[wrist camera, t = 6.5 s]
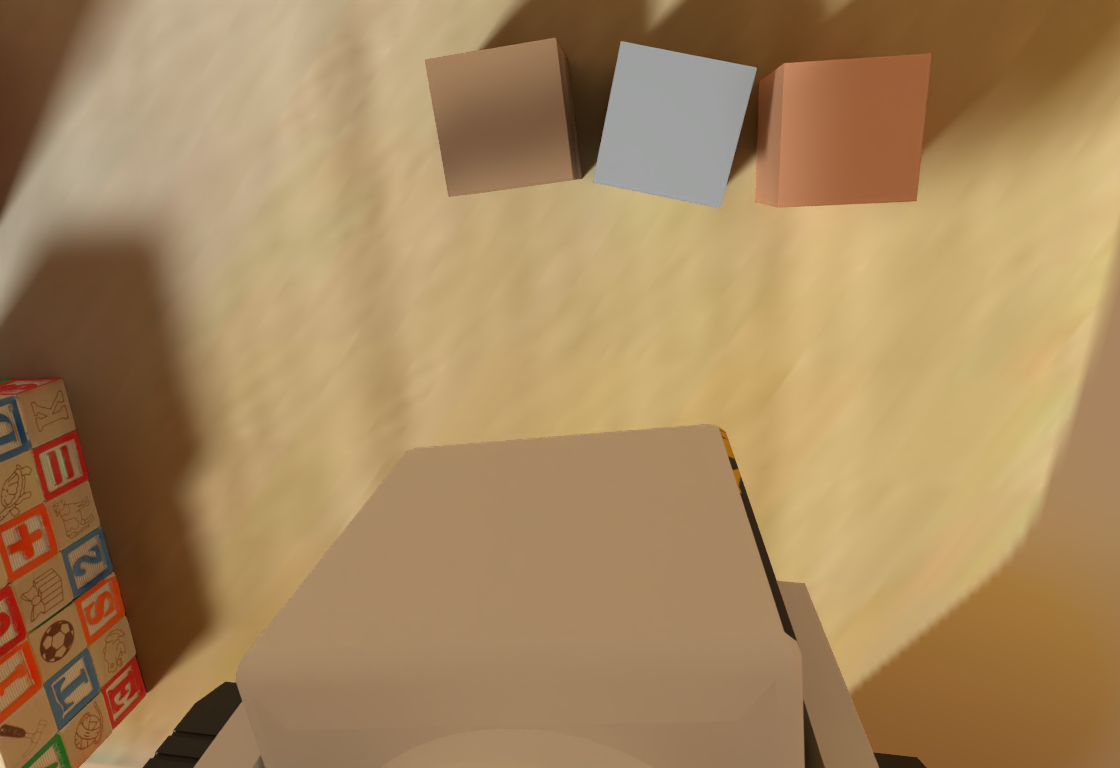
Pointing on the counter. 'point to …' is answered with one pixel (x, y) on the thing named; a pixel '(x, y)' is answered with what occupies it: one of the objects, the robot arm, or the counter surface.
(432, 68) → the walnut cube
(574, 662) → the medicine bottle
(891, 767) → the robot arm
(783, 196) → the terracotta cube
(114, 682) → the stack of blocks
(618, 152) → the slate blue cube
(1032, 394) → the counter surface
